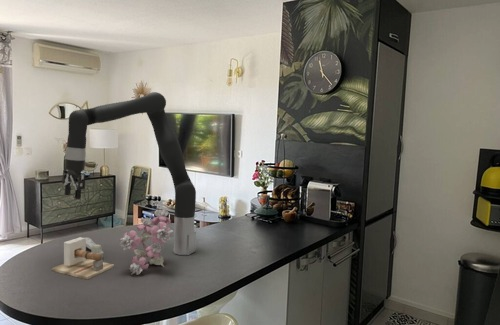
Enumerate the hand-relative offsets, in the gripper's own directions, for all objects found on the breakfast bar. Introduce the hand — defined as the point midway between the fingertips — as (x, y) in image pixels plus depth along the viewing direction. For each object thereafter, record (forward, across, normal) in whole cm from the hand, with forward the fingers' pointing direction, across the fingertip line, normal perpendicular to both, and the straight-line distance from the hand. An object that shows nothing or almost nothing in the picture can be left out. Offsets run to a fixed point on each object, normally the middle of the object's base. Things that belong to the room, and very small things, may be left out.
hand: (72, 196), depth 152 cm
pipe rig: (+26, -14, 0) cm, 30 cm away
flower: (+25, -32, -16) cm, 44 cm away
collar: (+25, -10, +2) cm, 27 cm away
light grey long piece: (+27, +2, -12) cm, 30 cm away
